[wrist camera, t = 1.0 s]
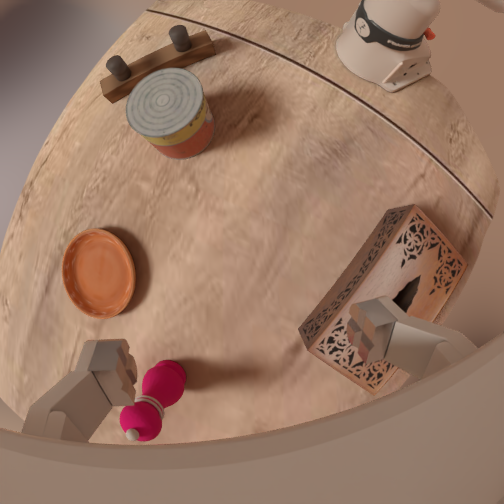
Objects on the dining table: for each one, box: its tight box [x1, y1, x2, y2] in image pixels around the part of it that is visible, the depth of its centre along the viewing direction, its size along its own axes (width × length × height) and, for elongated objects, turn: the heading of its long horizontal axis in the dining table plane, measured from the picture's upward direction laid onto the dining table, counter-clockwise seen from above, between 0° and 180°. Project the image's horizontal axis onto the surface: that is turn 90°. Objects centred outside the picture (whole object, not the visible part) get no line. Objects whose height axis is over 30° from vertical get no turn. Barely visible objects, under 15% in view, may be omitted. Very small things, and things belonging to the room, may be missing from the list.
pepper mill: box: [120, 360, 186, 441], centre depth 38 cm, size 7×7×20 cm
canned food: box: [126, 68, 215, 160], centre depth 40 cm, size 11×11×12 cm
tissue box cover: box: [298, 204, 468, 395], centre depth 42 cm, size 26×14×10 cm, turn 142°
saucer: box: [62, 229, 136, 319], centre depth 46 cm, size 16×16×3 cm
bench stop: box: [100, 25, 216, 104], centre depth 41 cm, size 22×4×9 cm, turn 113°
